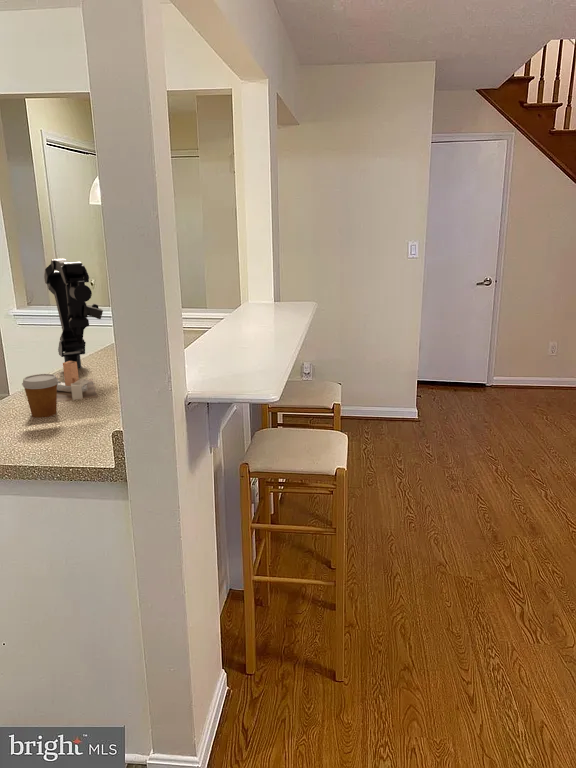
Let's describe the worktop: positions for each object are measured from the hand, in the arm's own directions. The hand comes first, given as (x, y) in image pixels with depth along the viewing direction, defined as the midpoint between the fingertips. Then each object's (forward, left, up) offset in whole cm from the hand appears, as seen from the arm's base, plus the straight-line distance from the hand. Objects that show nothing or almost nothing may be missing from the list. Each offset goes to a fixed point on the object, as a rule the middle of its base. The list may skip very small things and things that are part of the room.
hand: (80, 343), depth 204 cm
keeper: (+26, -2, -12) cm, 28 cm away
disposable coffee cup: (+41, -13, -13) cm, 45 cm away
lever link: (+19, -6, -11) cm, 23 cm away
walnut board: (+18, -5, -13) cm, 23 cm away
